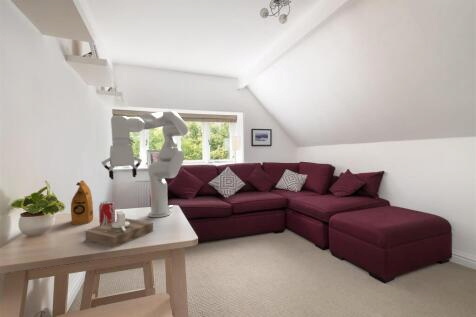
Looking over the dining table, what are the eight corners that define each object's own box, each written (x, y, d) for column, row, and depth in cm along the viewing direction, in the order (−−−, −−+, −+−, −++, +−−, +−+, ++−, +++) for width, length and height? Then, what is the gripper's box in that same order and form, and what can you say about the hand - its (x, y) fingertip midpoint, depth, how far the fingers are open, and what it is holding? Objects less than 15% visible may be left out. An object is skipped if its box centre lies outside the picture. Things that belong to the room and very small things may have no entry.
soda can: (108, 228, 113) (107, 204, 112) (96, 227, 114) (95, 203, 114) (118, 223, 120) (117, 200, 119) (106, 223, 121) (106, 200, 121)
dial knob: (111, 225, 103) (110, 212, 103) (128, 222, 107) (127, 209, 107) (115, 233, 93) (114, 218, 93) (133, 230, 97) (133, 216, 97)
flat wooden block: (126, 226, 115) (126, 217, 115) (153, 231, 108) (152, 222, 108) (85, 240, 97) (85, 230, 97) (114, 247, 90) (114, 236, 90)
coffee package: (67, 226, 116) (66, 183, 116) (74, 219, 128) (73, 180, 127) (90, 223, 120) (89, 182, 119) (95, 217, 132) (94, 179, 131)
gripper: (138, 142, 117) (140, 175, 118) (99, 142, 106) (101, 179, 108) (142, 141, 111) (144, 176, 112) (101, 142, 100) (103, 181, 102)
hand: (123, 178), depth 110 cm, fingers open, 9 cm apart
